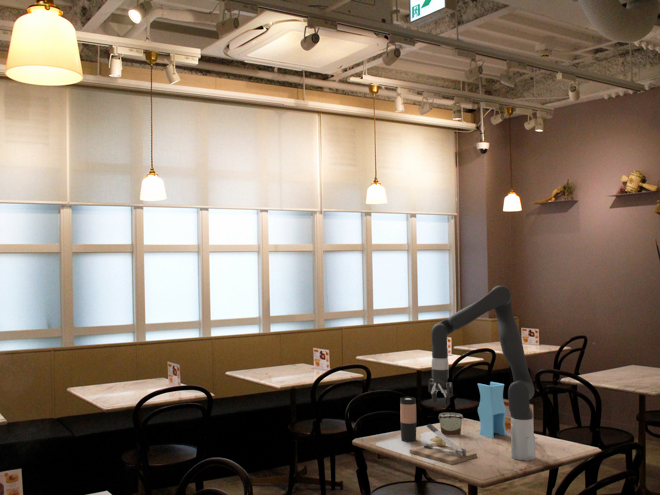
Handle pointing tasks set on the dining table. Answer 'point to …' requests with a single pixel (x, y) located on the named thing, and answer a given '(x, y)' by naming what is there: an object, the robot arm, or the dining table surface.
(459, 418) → the food container
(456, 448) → the tongs upper arm
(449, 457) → the wooden board with rail
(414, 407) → the travel mug
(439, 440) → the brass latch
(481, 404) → the light blue flared block
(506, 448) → the dining table surface
